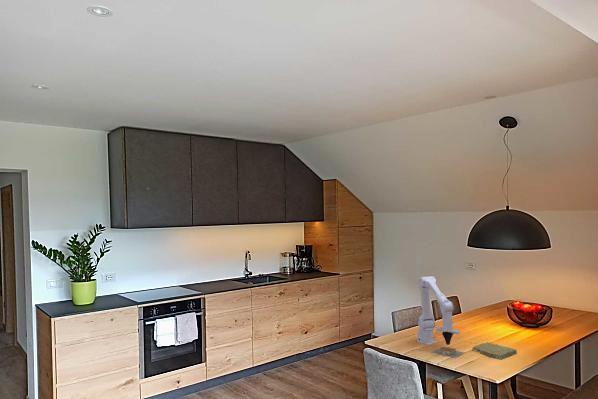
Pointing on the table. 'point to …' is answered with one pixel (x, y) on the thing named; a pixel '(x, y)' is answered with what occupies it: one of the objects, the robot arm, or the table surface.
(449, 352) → the slab
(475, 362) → the table surface
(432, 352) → the mat
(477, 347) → the decorative tile
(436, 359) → the table surface
